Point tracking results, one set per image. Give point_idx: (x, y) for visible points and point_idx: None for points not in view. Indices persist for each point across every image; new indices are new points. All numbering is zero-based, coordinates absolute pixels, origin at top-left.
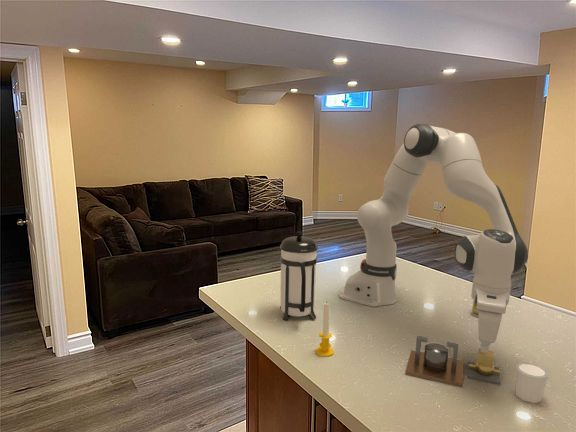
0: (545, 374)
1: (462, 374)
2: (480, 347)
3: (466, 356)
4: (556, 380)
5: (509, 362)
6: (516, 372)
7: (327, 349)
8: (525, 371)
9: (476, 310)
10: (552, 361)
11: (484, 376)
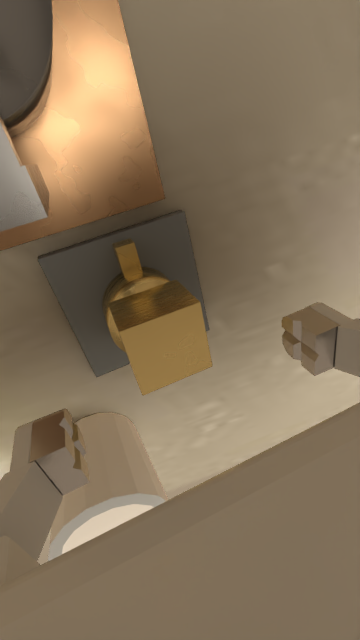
0: None
1: (13, 244)
2: (46, 423)
3: (239, 188)
4: (237, 441)
5: (274, 331)
6: (79, 494)
7: None
8: (81, 537)
9: None
10: (329, 399)
11: (99, 319)
